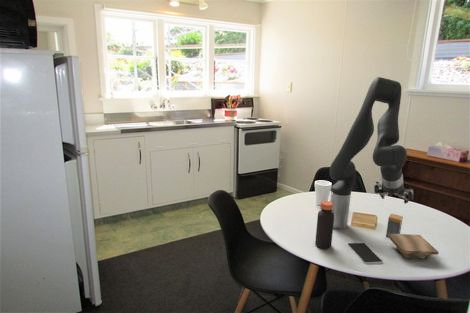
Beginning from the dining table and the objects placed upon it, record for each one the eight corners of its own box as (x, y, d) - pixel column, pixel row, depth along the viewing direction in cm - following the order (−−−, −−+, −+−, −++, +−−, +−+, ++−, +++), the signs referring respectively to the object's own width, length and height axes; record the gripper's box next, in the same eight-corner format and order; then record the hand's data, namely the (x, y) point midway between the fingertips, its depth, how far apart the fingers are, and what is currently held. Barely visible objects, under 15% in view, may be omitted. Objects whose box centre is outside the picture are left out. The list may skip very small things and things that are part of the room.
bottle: (313, 241, 139) (317, 199, 134) (328, 241, 138) (332, 200, 134) (317, 249, 132) (321, 206, 127) (332, 249, 132) (337, 206, 127)
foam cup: (311, 200, 185) (312, 180, 182) (325, 200, 186) (327, 180, 183) (316, 207, 176) (318, 185, 173) (332, 206, 177) (334, 185, 174)
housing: (397, 240, 141) (400, 220, 139) (385, 236, 144) (388, 216, 142) (399, 235, 145) (402, 216, 142) (388, 232, 148) (391, 213, 145)
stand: (401, 261, 124) (402, 250, 123) (386, 243, 138) (387, 233, 137) (436, 262, 124) (438, 251, 123) (418, 244, 137) (419, 234, 136)
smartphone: (364, 242, 137) (383, 261, 123) (364, 245, 137) (383, 264, 123) (347, 243, 136) (364, 262, 122) (346, 245, 137) (364, 264, 122)
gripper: (415, 175, 116) (415, 195, 127) (375, 168, 124) (378, 188, 136) (410, 192, 113) (411, 211, 125) (370, 184, 121) (374, 203, 133)
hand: (394, 199), depth 130 cm, fingers open, 8 cm apart
